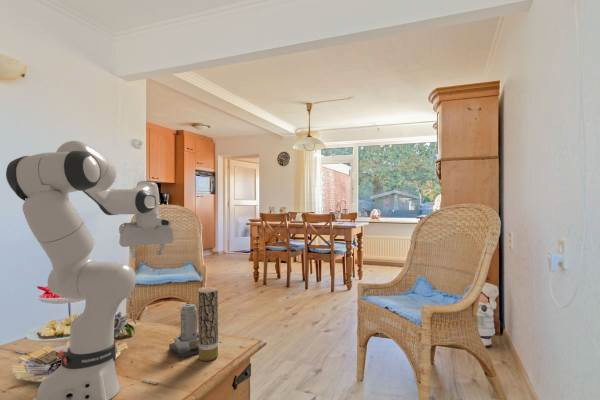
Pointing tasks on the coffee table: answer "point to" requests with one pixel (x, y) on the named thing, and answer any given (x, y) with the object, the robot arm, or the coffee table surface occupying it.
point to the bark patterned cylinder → (208, 323)
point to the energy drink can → (188, 322)
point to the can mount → (185, 347)
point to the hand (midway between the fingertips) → (147, 256)
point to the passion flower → (122, 325)
